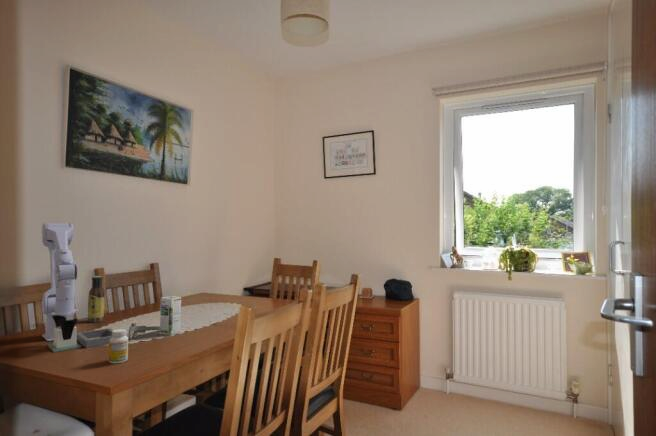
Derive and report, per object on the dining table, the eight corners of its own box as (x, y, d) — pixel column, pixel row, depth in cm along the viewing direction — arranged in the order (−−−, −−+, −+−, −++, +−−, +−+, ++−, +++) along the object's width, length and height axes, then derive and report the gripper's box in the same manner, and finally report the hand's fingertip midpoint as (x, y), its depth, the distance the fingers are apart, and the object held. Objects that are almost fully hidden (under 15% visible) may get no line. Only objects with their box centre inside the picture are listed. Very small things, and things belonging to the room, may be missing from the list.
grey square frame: (76, 339, 152) (76, 333, 152) (109, 334, 160) (109, 327, 160) (86, 348, 142) (86, 340, 142) (121, 341, 150) (121, 334, 150)
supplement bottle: (113, 358, 132) (114, 328, 132) (130, 358, 133) (131, 328, 133) (105, 364, 127) (106, 332, 127) (123, 363, 127) (124, 332, 127)
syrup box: (159, 334, 161) (159, 297, 161) (170, 330, 167) (170, 295, 167) (170, 335, 159) (171, 298, 159) (181, 332, 165) (181, 296, 165)
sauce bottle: (85, 321, 180) (86, 276, 180) (100, 318, 184) (101, 275, 185) (91, 323, 175) (92, 277, 176) (106, 321, 180) (107, 276, 181)
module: (53, 345, 143) (54, 326, 143) (73, 341, 147) (73, 323, 147) (56, 348, 140) (57, 328, 140) (76, 344, 144) (77, 325, 144)
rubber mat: (47, 345, 144) (47, 344, 144) (73, 341, 150) (73, 339, 150) (53, 352, 137) (53, 350, 137) (80, 347, 142) (80, 346, 142)
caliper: (130, 341, 152) (130, 324, 152) (128, 340, 153) (128, 323, 153) (171, 328, 171) (172, 313, 171) (169, 328, 171) (170, 313, 171)
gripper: (83, 300, 141) (82, 339, 141) (72, 294, 151) (72, 331, 151) (59, 302, 136) (58, 343, 136) (50, 296, 146) (49, 334, 146)
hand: (64, 337), depth 143 cm, fingers open, 7 cm apart
